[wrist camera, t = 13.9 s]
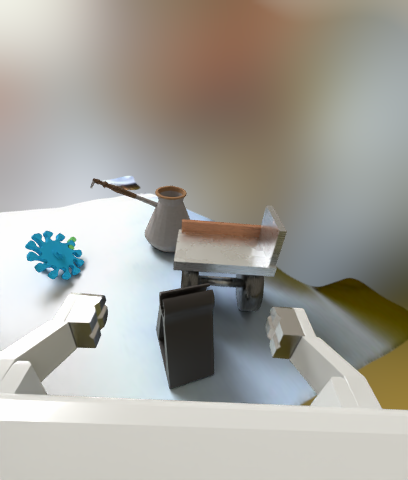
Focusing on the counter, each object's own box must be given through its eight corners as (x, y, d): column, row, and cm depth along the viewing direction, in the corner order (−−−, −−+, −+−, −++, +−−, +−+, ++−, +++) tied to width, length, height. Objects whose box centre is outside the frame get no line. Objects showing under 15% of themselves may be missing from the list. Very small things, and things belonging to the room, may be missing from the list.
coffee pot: (192, 230, 62) (196, 173, 54) (196, 257, 53) (202, 194, 45) (106, 229, 59) (96, 168, 51) (94, 258, 50) (80, 189, 42)
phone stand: (213, 375, 32) (226, 316, 25) (169, 390, 30) (170, 329, 23) (193, 321, 39) (199, 263, 32) (156, 330, 37) (154, 270, 30)
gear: (65, 286, 40) (14, 243, 38) (45, 303, 42) (-4, 263, 39) (97, 255, 50) (59, 219, 48) (80, 269, 52) (42, 236, 49)
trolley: (171, 318, 39) (173, 230, 30) (177, 274, 48) (180, 197, 39) (262, 323, 40) (291, 239, 31) (251, 279, 48) (271, 204, 39)
